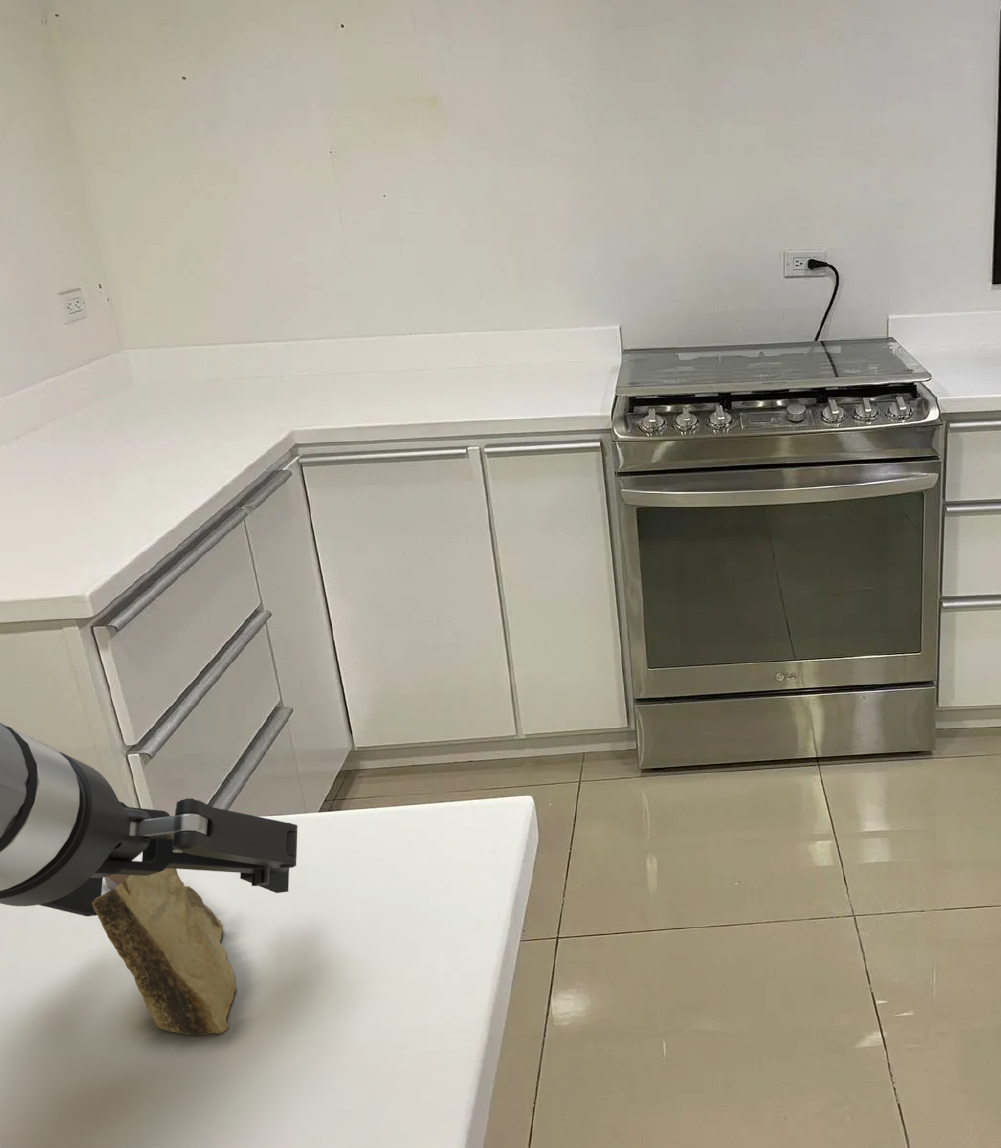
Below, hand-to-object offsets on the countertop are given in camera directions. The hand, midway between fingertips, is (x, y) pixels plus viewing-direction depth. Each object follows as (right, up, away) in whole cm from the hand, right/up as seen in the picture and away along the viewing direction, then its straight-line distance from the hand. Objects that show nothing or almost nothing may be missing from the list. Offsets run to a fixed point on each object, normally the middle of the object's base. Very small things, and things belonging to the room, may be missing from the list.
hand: (190, 883), depth 74 cm
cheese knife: (-6, -3, +7) cm, 10 cm away
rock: (+1, -6, -1) cm, 6 cm away
